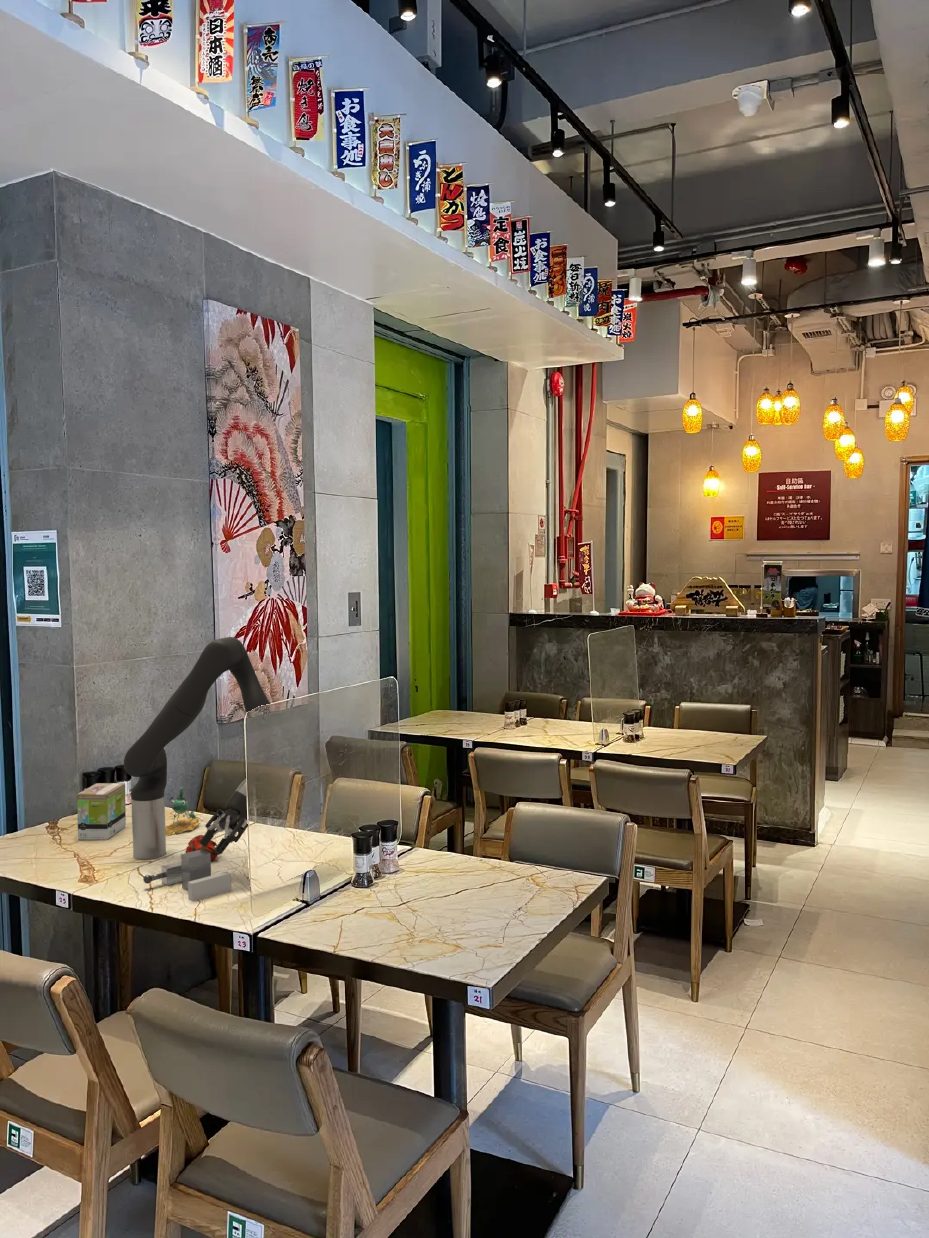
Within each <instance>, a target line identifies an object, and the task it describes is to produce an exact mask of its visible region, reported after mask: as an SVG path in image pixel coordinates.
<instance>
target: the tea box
mask: <svg viewBox="0 0 929 1238" xmlns="http://www.w3.org/2000/svg"><path fill="white" fill-rule="evenodd" d="M76 799H77V803H76V804H77V840H81V841H82V840H84V841H86V840H87V841H90V840H91V841H94V840H95V841H97V840H102V841H105V840H109V839H110V838H111V837H112V836H114V835H115V834H117V833H118V832H120V831H121V830H122V829H124V828H126V826H127V818H126V810H127V809H126V784H125V783H123V782H122V783H121V782H116V783H115V782H113V783H112V782H108V783H107V782H103V783H101V782H100V783H99V782H98V783H97V782H96V783H94V784H93V785H91V786H89V787H87V788H85V789H83V790H82V791H81V792H78V793H77V797H76Z"/></svg>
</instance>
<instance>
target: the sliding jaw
mask: <svg viewBox="0 0 929 1238" xmlns="http://www.w3.org/2000/svg"><path fill="white" fill-rule="evenodd" d="M160 868H161V869H160V871H161V872H160V873H159V872H158V873H156V874H151V875H150V874H146V875H145V876H143V882H144V884H146V885H147V884H150V883H152V882H153V881H156V880H161V883H162V884H163V885H164V886H170V885H174V884H179V883H182V869H181V861H177V862H172V863H170V864H169V863H168V864H165V865H162V866H161V867H160Z"/></svg>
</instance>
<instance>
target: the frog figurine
mask: <svg viewBox="0 0 929 1238" xmlns="http://www.w3.org/2000/svg"><path fill="white" fill-rule="evenodd" d="M183 794H184V787H182V786H181V787H180V788H179V795H178V796H177V798H176V799H174V797H173V796H171V797H170V798H169V801H170V802H171V805H172V807H171V809H172V810H173V811H174V812H175V814H174V815H173V817H174V818H173V822H171V823H169V824H168V825H165V831H166V837H168V836H172V835H173V836H174V835H180V834H181V833H184V832H188V831H192V830H194V829H195V828H196V827H197V826H198V825H199V821H200V818H199V817H197V815H195V812H196V810H195V809H194V810H193V809H191V811H190V812H189V810H188V809H189V802H188V800H187V799H186V797H185V796H183ZM180 815H182V816H183V819H179V816H180ZM185 816H186V818H185ZM176 817H177V818H176ZM175 818H176V821H175ZM178 819H179V820H178Z"/></svg>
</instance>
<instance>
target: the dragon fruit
mask: <svg viewBox="0 0 929 1238" xmlns="http://www.w3.org/2000/svg"><path fill="white" fill-rule="evenodd" d="M204 835H205V834H198V835H196V836H194V837H192V839H190V840H189V841H188V844H187V846H186V849H185V850H184V851H185V853H188V852H193V851H197V850H201V849H203V850H205V851H207V852H209V853H210V856H211V862H215V861H217V859H218V856H219V855H221V854H219V853H217V852H216V851H215V848H216V846H217V845H218V844H217V842H216V841H214V840H212V839H211V841H210V842H209V843H208V845H207V846H206V847H204V846H202V845H201V844H200V843H199V842H200V840H201V839H202V837H203V836H204Z"/></svg>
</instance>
